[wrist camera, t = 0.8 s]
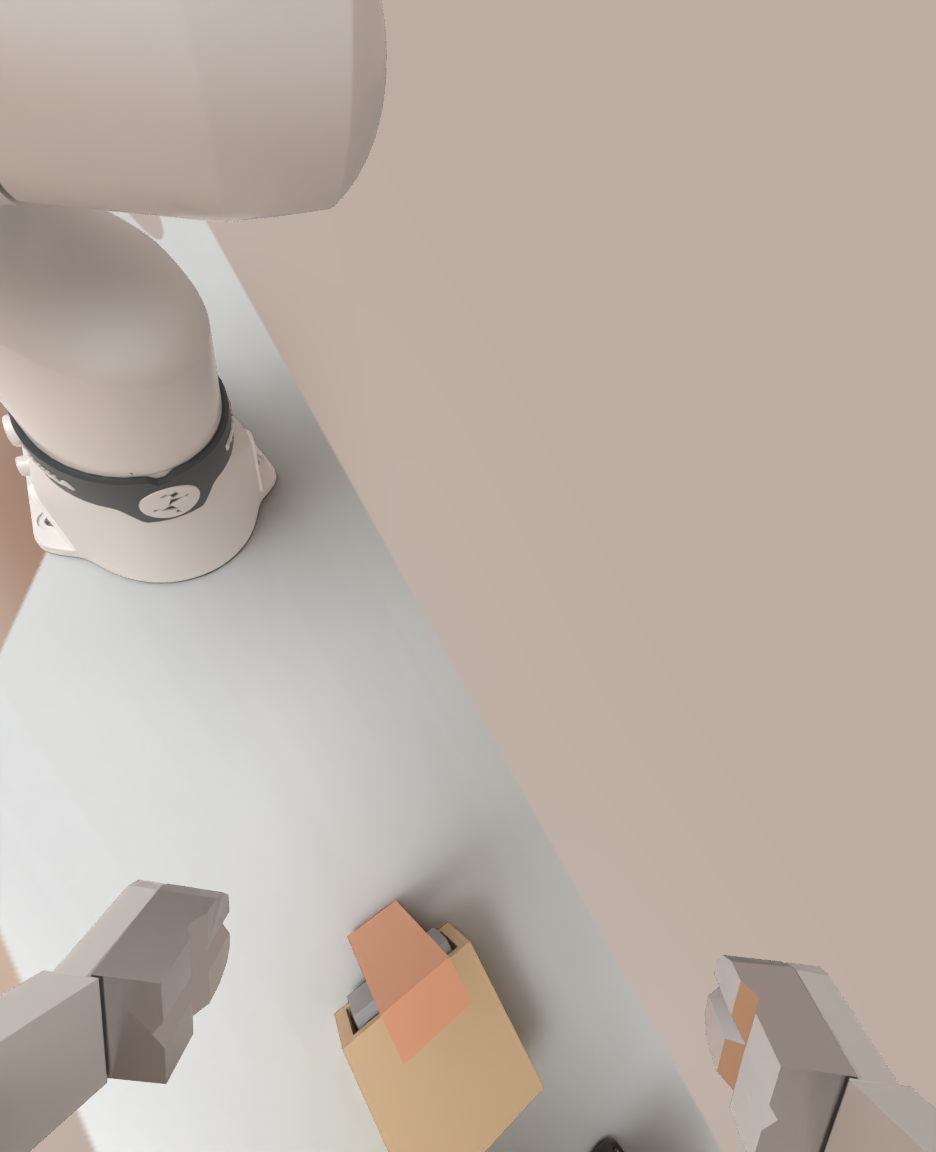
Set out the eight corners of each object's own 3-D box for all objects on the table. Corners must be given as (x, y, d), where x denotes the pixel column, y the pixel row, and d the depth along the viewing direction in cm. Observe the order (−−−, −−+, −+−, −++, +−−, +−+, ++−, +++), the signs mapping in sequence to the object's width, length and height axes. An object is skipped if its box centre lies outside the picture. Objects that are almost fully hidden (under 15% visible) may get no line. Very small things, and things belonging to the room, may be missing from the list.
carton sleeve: (334, 1014, 36) (342, 1049, 32) (447, 921, 41) (470, 940, 36) (400, 1161, 35) (420, 1222, 30) (511, 1049, 39) (543, 1087, 34)
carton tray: (326, 951, 37) (350, 1040, 24) (413, 886, 40) (474, 935, 28) (410, 1134, 35) (482, 1333, 22) (494, 1050, 38) (599, 1183, 26)
